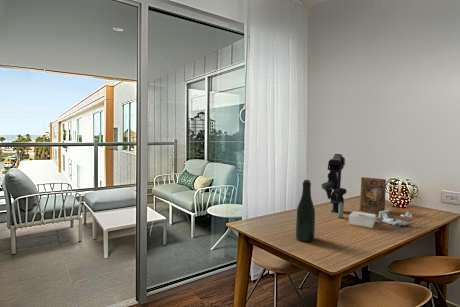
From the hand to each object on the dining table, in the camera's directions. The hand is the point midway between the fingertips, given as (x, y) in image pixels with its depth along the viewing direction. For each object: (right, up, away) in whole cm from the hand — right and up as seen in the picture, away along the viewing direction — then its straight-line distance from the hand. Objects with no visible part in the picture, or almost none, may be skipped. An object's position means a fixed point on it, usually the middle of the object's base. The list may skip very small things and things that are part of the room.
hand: (333, 200), depth 190 cm
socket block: (+17, -14, -5) cm, 22 cm away
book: (+37, -12, +22) cm, 44 cm away
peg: (+7, -13, +5) cm, 15 cm away
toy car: (+38, -15, -5) cm, 41 cm away
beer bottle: (-28, -16, -34) cm, 47 cm away
